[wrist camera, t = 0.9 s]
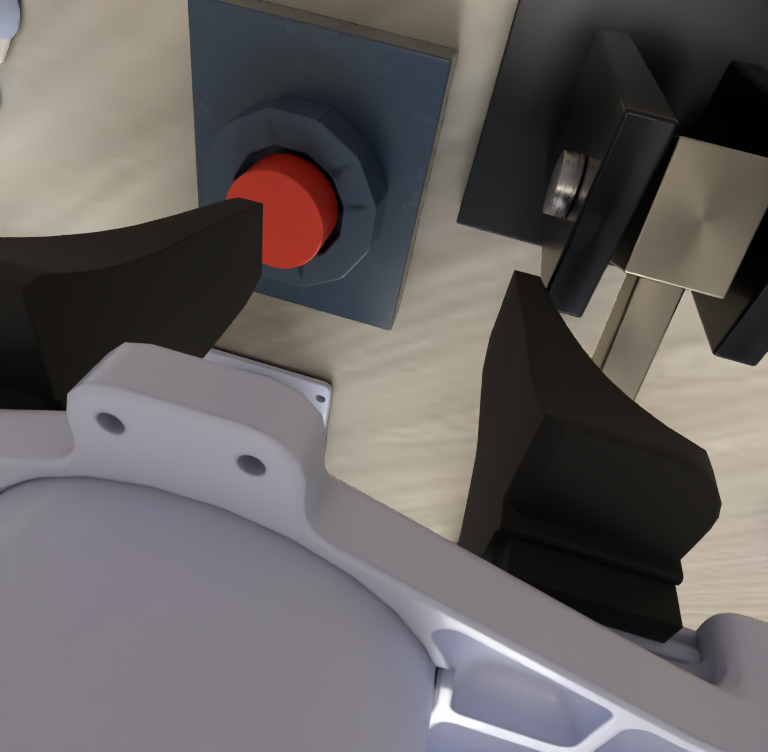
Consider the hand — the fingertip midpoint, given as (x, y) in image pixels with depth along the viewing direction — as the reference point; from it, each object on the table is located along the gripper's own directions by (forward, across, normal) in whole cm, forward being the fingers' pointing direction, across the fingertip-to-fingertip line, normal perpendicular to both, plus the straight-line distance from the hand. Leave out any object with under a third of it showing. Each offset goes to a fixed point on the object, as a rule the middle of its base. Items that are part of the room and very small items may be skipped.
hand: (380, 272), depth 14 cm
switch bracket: (+10, -6, -3) cm, 12 cm away
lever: (+1, -6, +2) cm, 7 cm away
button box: (+10, +5, +2) cm, 11 cm away
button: (+7, +5, +2) cm, 9 cm away
